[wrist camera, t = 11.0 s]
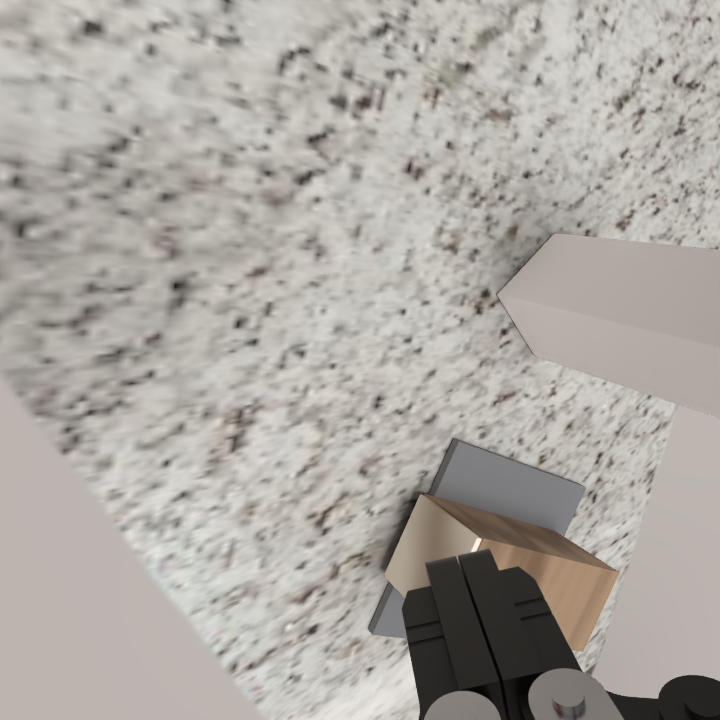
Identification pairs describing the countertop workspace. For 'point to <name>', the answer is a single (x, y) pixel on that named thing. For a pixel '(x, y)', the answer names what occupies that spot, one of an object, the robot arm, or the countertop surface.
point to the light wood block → (506, 559)
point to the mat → (489, 505)
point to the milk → (625, 314)
